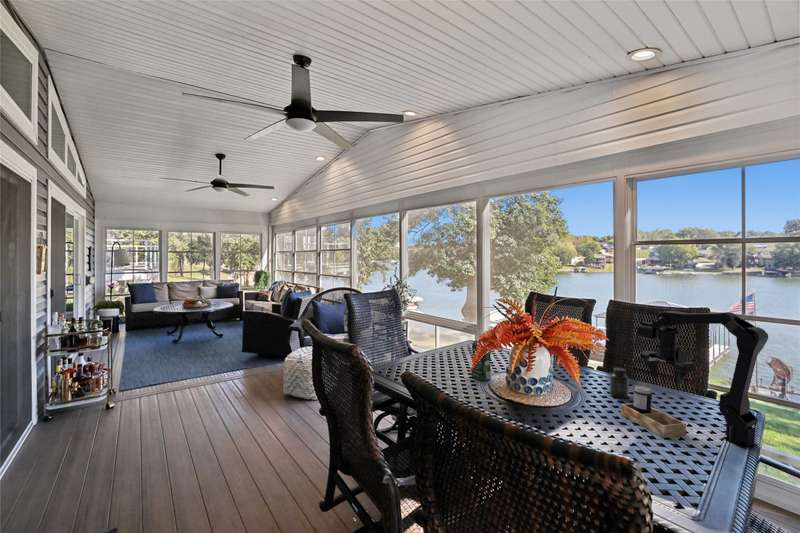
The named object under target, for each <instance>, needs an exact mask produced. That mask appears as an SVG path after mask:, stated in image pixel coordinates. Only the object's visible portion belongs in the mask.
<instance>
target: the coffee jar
mask: <svg viewBox="0 0 800 533" xmlns="http://www.w3.org/2000/svg"><path fill="white" fill-rule="evenodd" d="M478 340H479V339H478ZM478 340H473V342H472V344H471V351H472V356H473V355H474V353H475V351H476V346H477V341H478ZM491 354H492V351H489V352H488V353H487V354H486V355H484V356H483V358H482V359H481V360H480V361H479V362H478V363H477V365H476V366H475V368H473V369H472V368H471V372H470V374H471V377H472V378H474V379H475V380H479V381H489V380H490V379H491V378H492V369H491Z"/></svg>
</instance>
